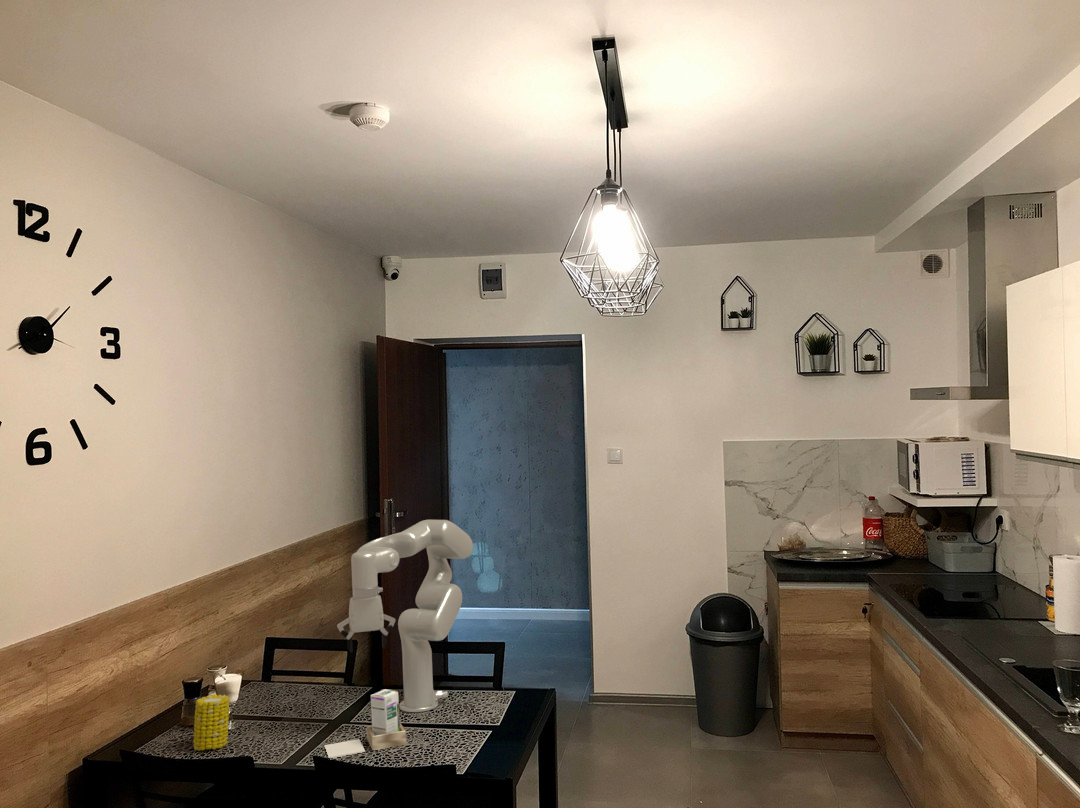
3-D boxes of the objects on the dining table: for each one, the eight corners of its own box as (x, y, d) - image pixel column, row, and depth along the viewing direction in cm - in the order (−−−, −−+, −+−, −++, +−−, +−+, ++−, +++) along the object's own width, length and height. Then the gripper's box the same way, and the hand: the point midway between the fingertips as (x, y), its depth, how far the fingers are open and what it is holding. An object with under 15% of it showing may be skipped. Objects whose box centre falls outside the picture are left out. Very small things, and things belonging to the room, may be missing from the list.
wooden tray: (399, 734, 248) (398, 720, 248) (406, 745, 239) (406, 731, 239) (367, 740, 244) (366, 726, 244) (372, 751, 235) (372, 737, 235)
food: (187, 755, 242) (216, 745, 250) (213, 752, 236) (242, 742, 245) (180, 702, 245) (210, 693, 253) (206, 697, 239) (235, 689, 247)
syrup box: (387, 747, 237) (385, 696, 238) (372, 744, 240) (370, 693, 241) (400, 741, 242) (399, 690, 243) (385, 737, 245) (383, 688, 246)
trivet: (359, 741, 243) (359, 739, 243) (365, 753, 234) (365, 750, 234) (324, 747, 240) (324, 745, 240) (328, 759, 230) (328, 757, 230)
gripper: (393, 587, 257) (395, 643, 257) (335, 593, 253) (337, 649, 252) (395, 592, 250) (397, 649, 250) (336, 598, 246) (338, 656, 245)
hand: (367, 649), depth 251 cm, fingers open, 9 cm apart
